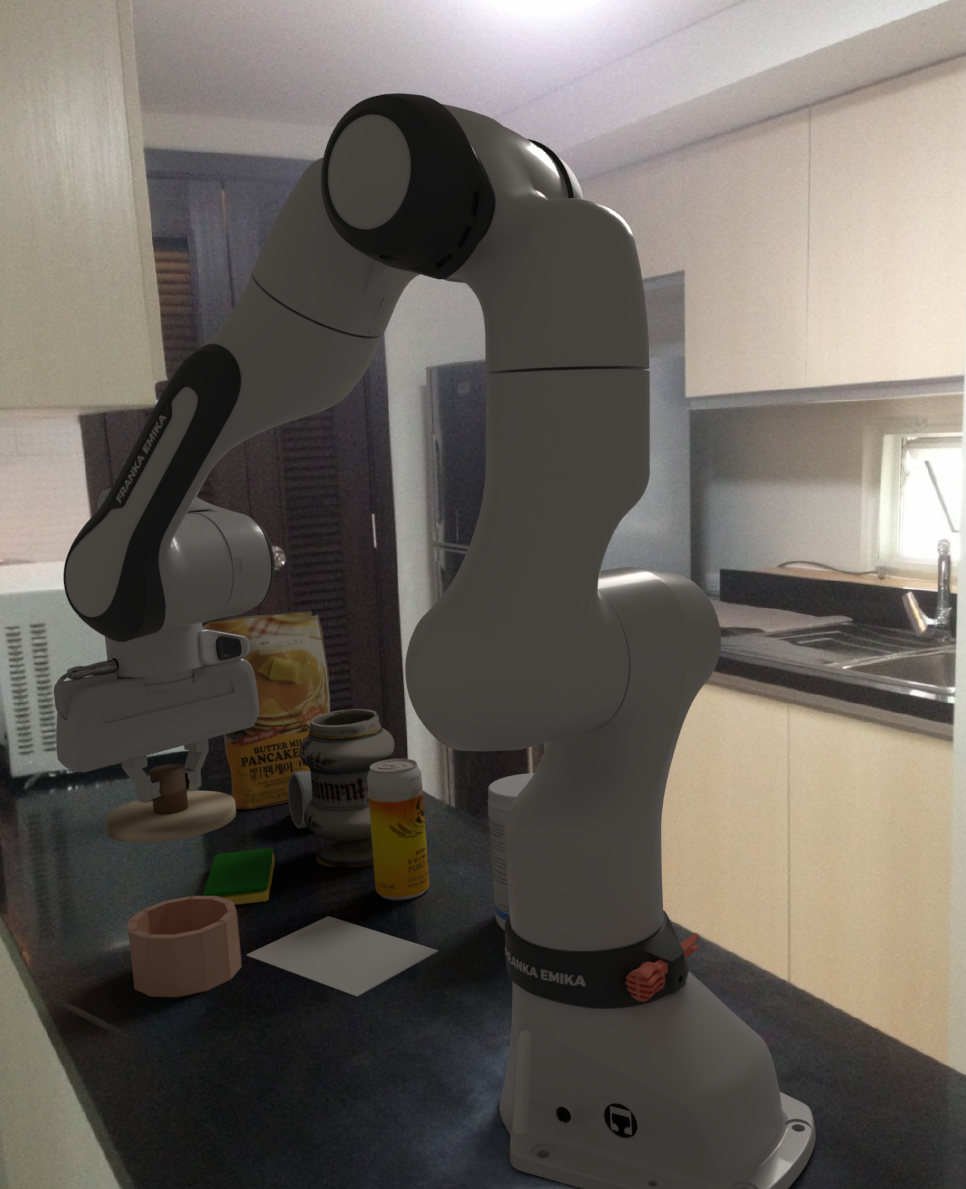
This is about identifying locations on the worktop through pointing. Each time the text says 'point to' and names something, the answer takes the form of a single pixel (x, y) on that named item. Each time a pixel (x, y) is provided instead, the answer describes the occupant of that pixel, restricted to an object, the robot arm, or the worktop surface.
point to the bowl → (184, 946)
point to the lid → (170, 811)
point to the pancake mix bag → (277, 703)
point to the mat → (342, 955)
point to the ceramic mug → (299, 796)
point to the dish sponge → (241, 876)
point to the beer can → (398, 829)
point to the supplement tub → (502, 836)
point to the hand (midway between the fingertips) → (170, 794)
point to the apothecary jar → (343, 782)
